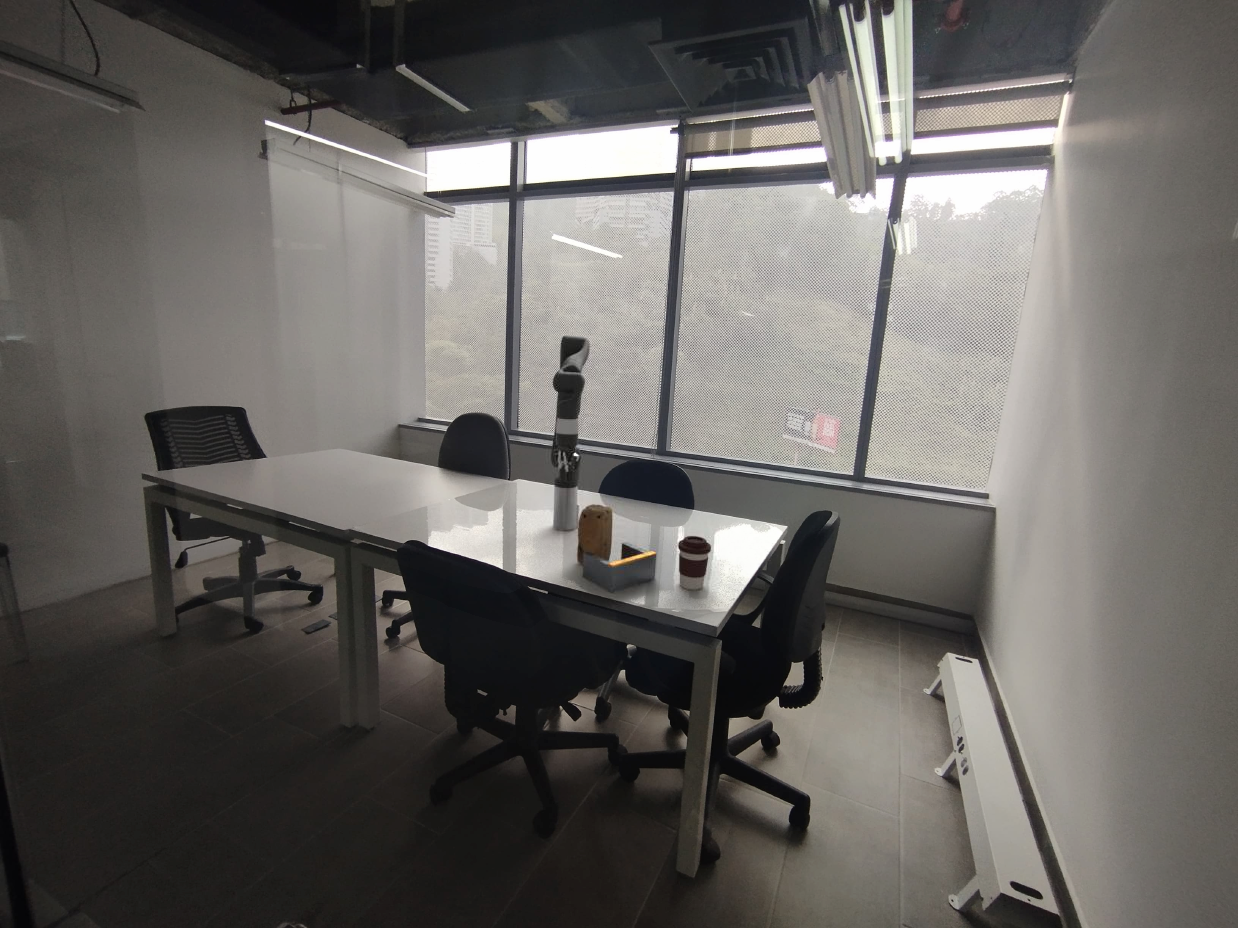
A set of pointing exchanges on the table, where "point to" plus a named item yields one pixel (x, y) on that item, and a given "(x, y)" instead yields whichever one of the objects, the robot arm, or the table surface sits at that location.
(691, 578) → the coffee cup
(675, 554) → the table surface
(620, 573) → the dock
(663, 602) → the table surface
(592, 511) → the block
